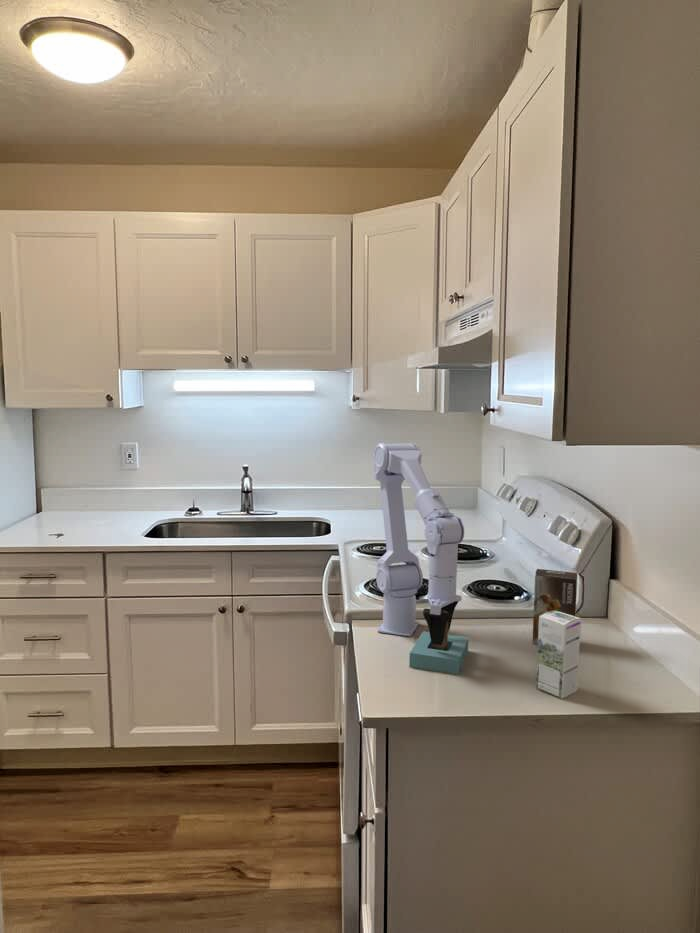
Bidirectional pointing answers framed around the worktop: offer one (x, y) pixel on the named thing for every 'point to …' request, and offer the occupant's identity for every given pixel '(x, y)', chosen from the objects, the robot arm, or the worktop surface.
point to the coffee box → (553, 595)
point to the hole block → (439, 654)
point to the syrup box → (558, 653)
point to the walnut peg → (445, 641)
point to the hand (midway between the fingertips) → (440, 637)
